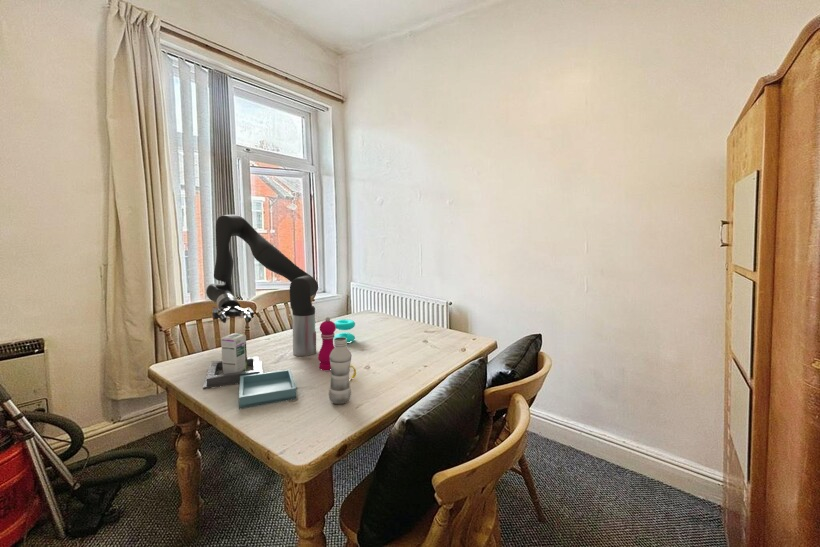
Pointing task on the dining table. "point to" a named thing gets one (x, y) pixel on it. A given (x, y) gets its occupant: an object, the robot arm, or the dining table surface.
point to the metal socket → (230, 378)
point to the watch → (354, 371)
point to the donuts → (345, 325)
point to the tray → (266, 388)
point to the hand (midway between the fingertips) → (237, 320)
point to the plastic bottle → (340, 372)
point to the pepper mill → (326, 343)
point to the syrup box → (234, 353)
